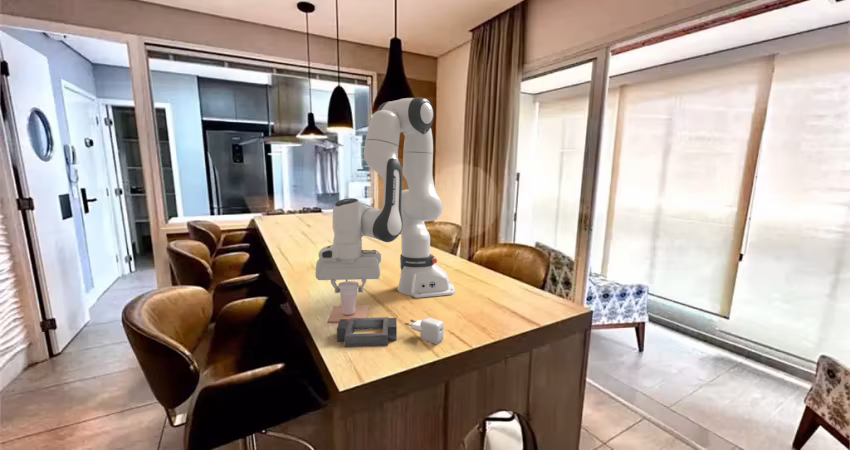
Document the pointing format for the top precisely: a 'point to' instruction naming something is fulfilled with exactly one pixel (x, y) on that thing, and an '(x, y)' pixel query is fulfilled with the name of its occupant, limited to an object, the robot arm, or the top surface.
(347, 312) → the smoothie
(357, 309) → the coaster
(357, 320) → the grey rectangular frame
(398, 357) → the top surface
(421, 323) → the power adapter
